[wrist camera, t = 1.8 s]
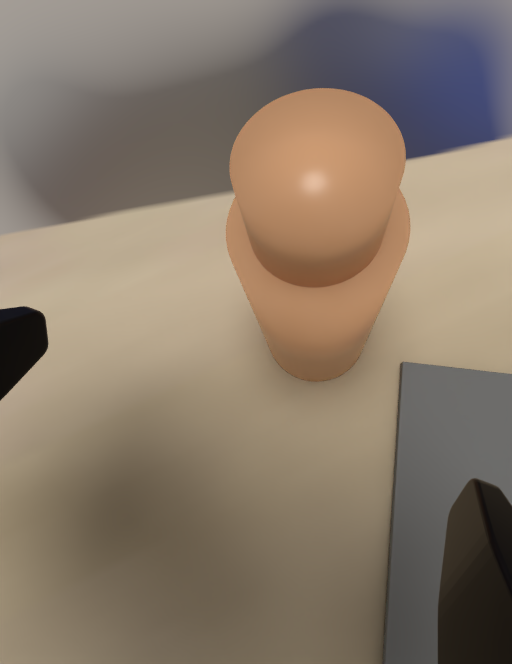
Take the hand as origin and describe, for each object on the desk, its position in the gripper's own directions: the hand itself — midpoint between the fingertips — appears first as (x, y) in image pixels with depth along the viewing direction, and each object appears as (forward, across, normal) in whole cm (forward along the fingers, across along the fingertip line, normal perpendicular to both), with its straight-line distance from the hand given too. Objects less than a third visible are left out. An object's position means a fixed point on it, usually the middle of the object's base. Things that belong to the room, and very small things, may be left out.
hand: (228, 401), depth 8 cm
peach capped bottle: (+12, 0, +5) cm, 12 cm away
